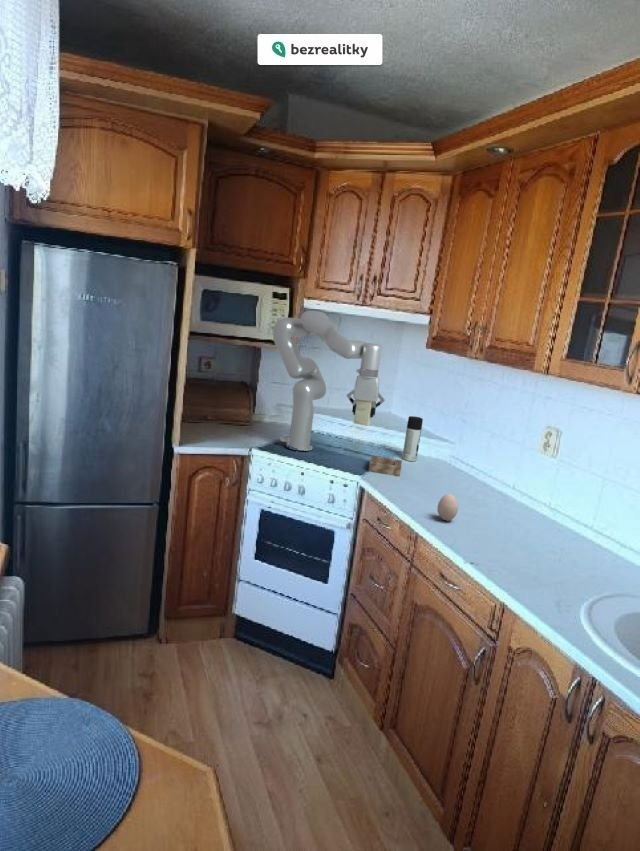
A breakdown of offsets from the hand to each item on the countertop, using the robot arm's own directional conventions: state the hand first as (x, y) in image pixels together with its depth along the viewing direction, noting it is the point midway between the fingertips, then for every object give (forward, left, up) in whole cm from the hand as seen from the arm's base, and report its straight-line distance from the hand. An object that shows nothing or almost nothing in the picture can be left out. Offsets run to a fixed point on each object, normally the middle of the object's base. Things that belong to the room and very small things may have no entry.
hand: (363, 415), depth 239 cm
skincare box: (0, 0, -4) cm, 4 cm away
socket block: (+12, 0, -22) cm, 25 cm away
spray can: (+22, +24, -22) cm, 40 cm away
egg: (+35, -50, -22) cm, 65 cm away
